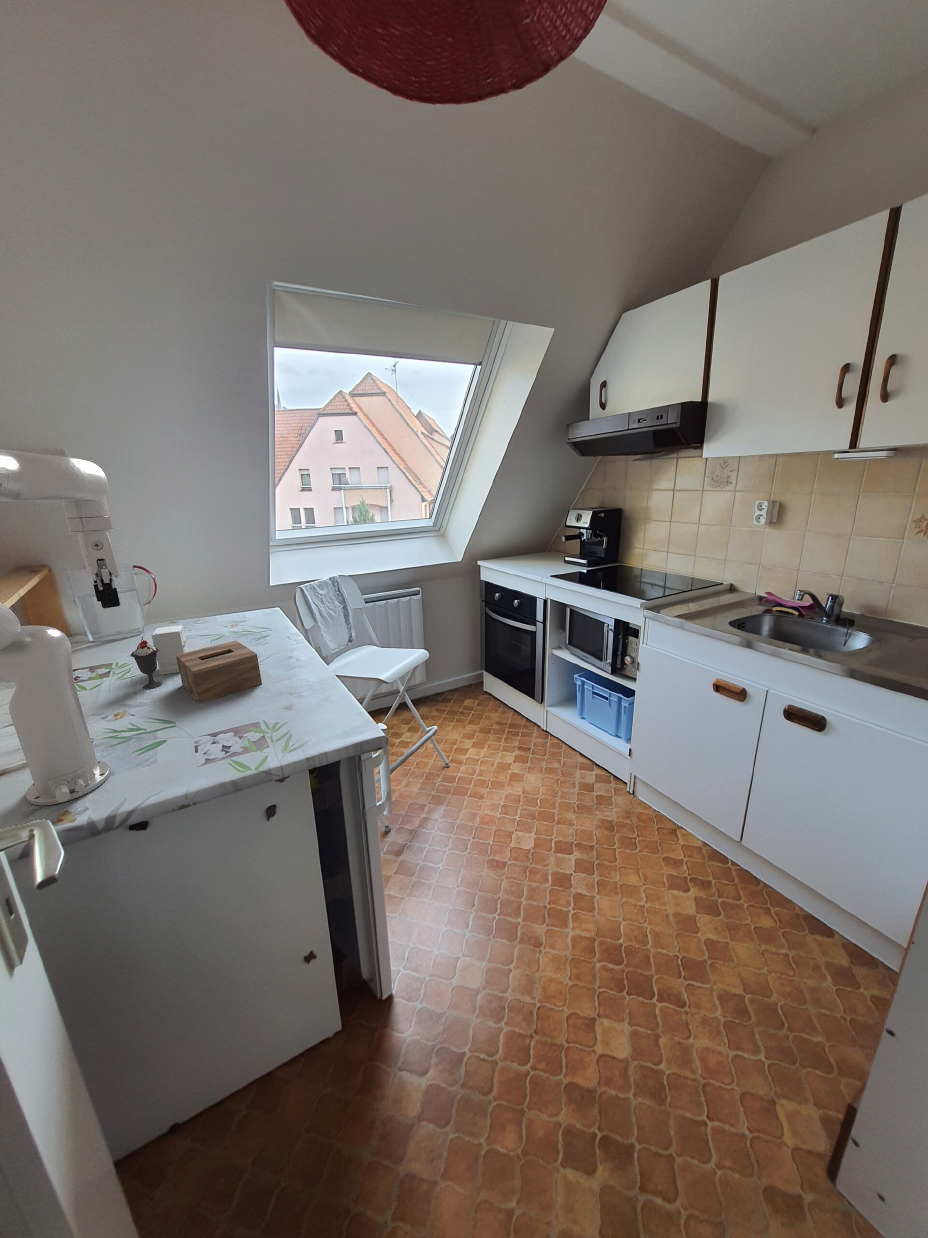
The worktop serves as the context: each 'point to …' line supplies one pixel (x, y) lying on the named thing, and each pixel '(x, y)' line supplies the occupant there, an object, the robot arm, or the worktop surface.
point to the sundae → (147, 662)
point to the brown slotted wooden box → (218, 670)
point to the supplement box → (169, 647)
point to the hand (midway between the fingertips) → (108, 603)
